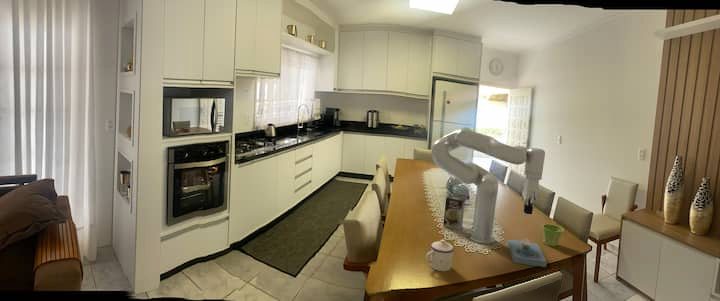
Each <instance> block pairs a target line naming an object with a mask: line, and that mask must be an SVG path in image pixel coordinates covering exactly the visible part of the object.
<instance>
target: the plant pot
mask: <svg viewBox="0 0 720 301" xmlns="http://www.w3.org/2000/svg"><path fill="white" fill-rule="evenodd" d="M541 225H542V226H541V227H542V231H543V233H542V234H543V235H542V236H543V244H545V245H546V246H550V247H557V246H558V244H559V241H560V238H561V235H562V234H563V232H564V231H565V230H564V228H563V227H561V226H559V225H556V224H551V223H545V224H541Z"/></svg>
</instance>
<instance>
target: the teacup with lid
mask: <svg viewBox="0 0 720 301" xmlns="http://www.w3.org/2000/svg"><path fill="white" fill-rule="evenodd" d="M430 247H431V249H430V250H431V251H429V252H427V253H426V255H425V260H426V262H427V263H429V265H430V267H431V268H432V269H433V270H435V271H439V272H447V271H448V272H449V271H450V270H451V269H452V264H453V254H454V246H453V245H452V244H451V243H449V242H446V239H441V240H439V241H433V243H431V246H430ZM429 256H430V260H429Z"/></svg>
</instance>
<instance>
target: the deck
mask: <svg viewBox="0 0 720 301" xmlns="http://www.w3.org/2000/svg"><path fill="white" fill-rule="evenodd" d="M521 241H522V240H517V239H510V238H508V239H507V247H508V249H509V252H510V256H511V258H512V260H513V261H512V262H513V263H515V264H523V265H529V266H537V267H543V268H546V267H547V263H548V261H547V259H546V258H545V256H544V253H543V252H542V250H541V248H540V246H539V244H538V243H537V242H531V247H530V248H523V247H522V245H521Z"/></svg>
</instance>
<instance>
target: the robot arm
mask: <svg viewBox="0 0 720 301" xmlns="http://www.w3.org/2000/svg"><path fill="white" fill-rule="evenodd" d="M461 147H462V148H466V149H469V150H473V151H476V152H479V153H481V154H482V153H483V154H485V155H487V156H490V157H492V158H494V159H497V160H498V161H499V160H500V161H503V162H506V163H508V164H512V165H515V166H516V165H523V164H524V163H525V168H524V173H523V178H524V182H523V187H522V192H521V194H522V195H521V196H522V197H523V198H524V199H525V200H524V207H523V212H524V214H526V215H533V210H534V204H535V203H534V202H536V201H537V199H538V195H539V184H540V181H541V180H542V178H543V171H544V165H545V159H546V151H545V150H544V149H543V148H542V149H541V148H537V147H536V148H535V147H531V148H530V147H526V146H520V145H514V146H512V145H509V144H505V143H504V142H500V141H498V140H497V139H496V138H494V137H492V136H489V135H486V134H483V133H480V132H476V131H473V130H472V129H471V128H468V127H461V128H459V129H457V130H454V131H453V132H451V133H448V134H446V135H444V136H442V137H440V138H438V139H436V140H435V141H434V142H433V144H432V146H431V158H432V161H433V162H434V164H435V165H436V166H438V167H439V168H440V169H442V170H443V171H444V172H446V173H448V174H449V175H451V176H452V177H454V178H455V179H457V180H459V181H460V182H462V183H464V184H466V185H472V184H473V185H475V186H476V192H475V204H474V211H473V212H474V213H473V223H472V226H471V228H467V227H462V232H463V233H465V234H466V235H468V238H469V240H471V241H473V242H475V243H479V244H485V245H488V244H489V245H490V244H494V242H496V238H495V236H493V232H494V224H495V215H496V214H495V213H496V209H497V208H496V206H497V199H498V198H497V197H498V193H499V180H498V178H497V177H496V175H494V174H493V173H492V172H490V171H488V170H487V169H485V168H483V167H481V166H480V165H478V164H477V163H474V162H471V161H470V162H469V161H468V162H465V161H462V160H460V159H459V158H458V157H455V156H454V155H452V154H451V153H450V152H452V151H454V150H457V149H458V148H461Z"/></svg>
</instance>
